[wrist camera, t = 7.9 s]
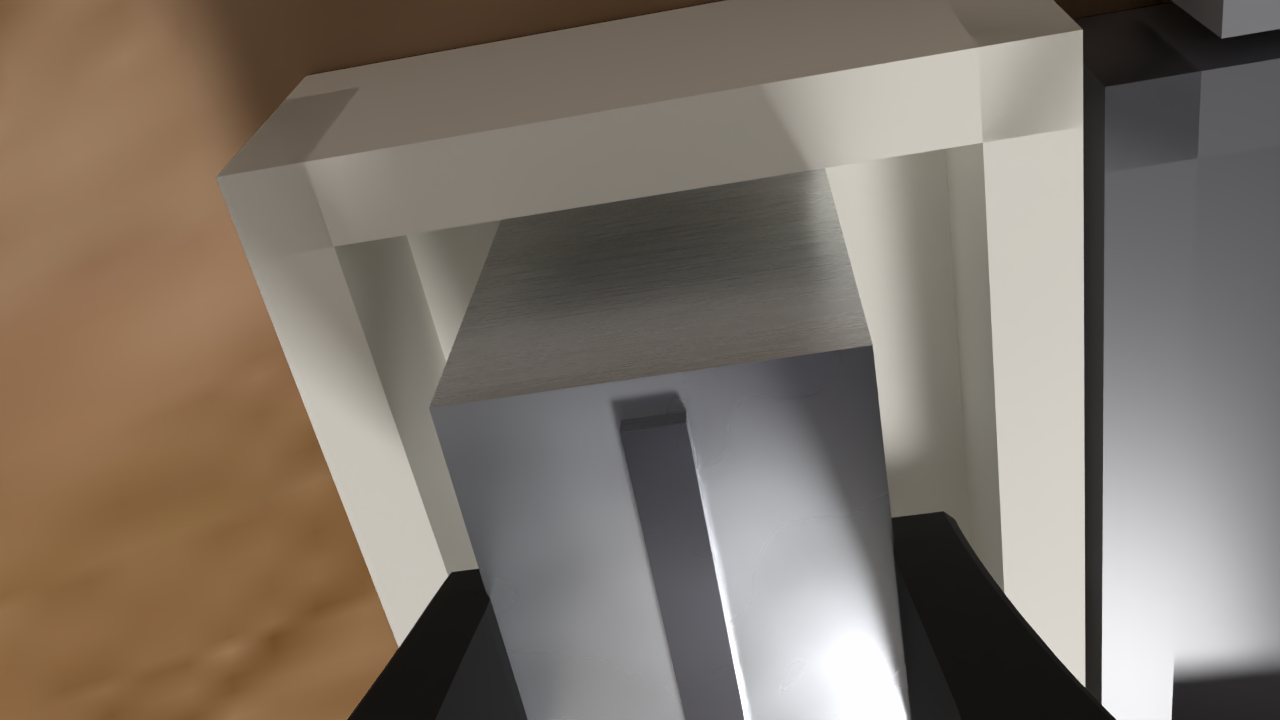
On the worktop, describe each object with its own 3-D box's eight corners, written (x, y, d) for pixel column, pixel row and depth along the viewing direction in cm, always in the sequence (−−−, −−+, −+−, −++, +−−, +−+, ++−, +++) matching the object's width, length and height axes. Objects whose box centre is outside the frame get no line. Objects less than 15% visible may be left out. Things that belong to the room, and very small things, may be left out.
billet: (821, 155, 15) (875, 356, 10) (868, 544, 18) (927, 838, 13) (506, 207, 15) (423, 419, 11) (599, 577, 18) (566, 871, 14)
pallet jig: (1040, 975, 25) (1087, 1155, 22) (617, 1006, 26) (606, 1182, 23) (1003, -50, 15) (1082, 29, 12) (305, 75, 16) (215, 177, 13)
